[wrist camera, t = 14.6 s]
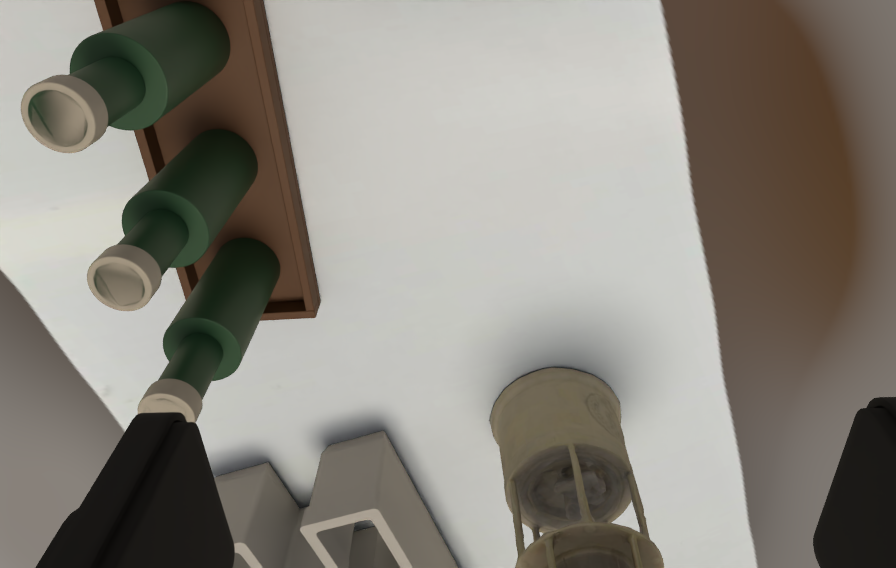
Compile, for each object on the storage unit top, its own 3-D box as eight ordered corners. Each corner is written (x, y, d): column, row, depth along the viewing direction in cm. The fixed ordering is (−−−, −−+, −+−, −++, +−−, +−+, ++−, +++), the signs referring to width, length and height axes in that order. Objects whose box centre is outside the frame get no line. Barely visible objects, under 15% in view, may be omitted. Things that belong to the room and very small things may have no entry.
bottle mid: (173, 150, 43) (45, 269, 30) (227, 115, 42) (119, 222, 28) (219, 206, 45) (118, 341, 31) (272, 173, 44) (191, 299, 30)
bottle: (137, 27, 39) (-27, 98, 26) (195, -15, 38) (54, 36, 25) (189, 93, 41) (60, 191, 28) (246, 54, 40) (140, 138, 27)
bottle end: (203, 256, 47) (101, 403, 33) (253, 226, 46) (168, 366, 32) (244, 302, 49) (163, 460, 35) (293, 275, 47) (229, 427, 34)
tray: (104, -24, 38) (87, -20, 37) (256, -36, 38) (246, -32, 36) (202, 308, 50) (192, 324, 48) (321, 302, 49) (315, 317, 47)
